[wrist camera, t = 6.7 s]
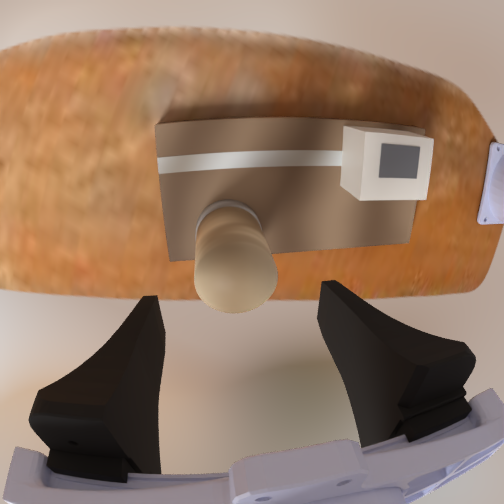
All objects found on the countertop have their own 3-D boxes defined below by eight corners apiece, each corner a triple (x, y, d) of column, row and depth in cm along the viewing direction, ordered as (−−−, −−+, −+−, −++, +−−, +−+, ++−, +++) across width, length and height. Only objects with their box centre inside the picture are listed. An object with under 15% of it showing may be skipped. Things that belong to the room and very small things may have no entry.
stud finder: (407, 131, 19) (434, 139, 16) (402, 185, 21) (426, 200, 18) (343, 125, 18) (365, 131, 15) (340, 185, 20) (360, 200, 17)
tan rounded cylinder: (259, 197, 20) (280, 238, 14) (259, 255, 22) (277, 310, 16) (193, 201, 19) (188, 245, 14) (198, 260, 21) (198, 317, 16)
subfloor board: (416, 126, 20) (425, 129, 19) (401, 236, 24) (409, 243, 23) (157, 123, 18) (154, 124, 17) (171, 253, 22) (170, 261, 21)
